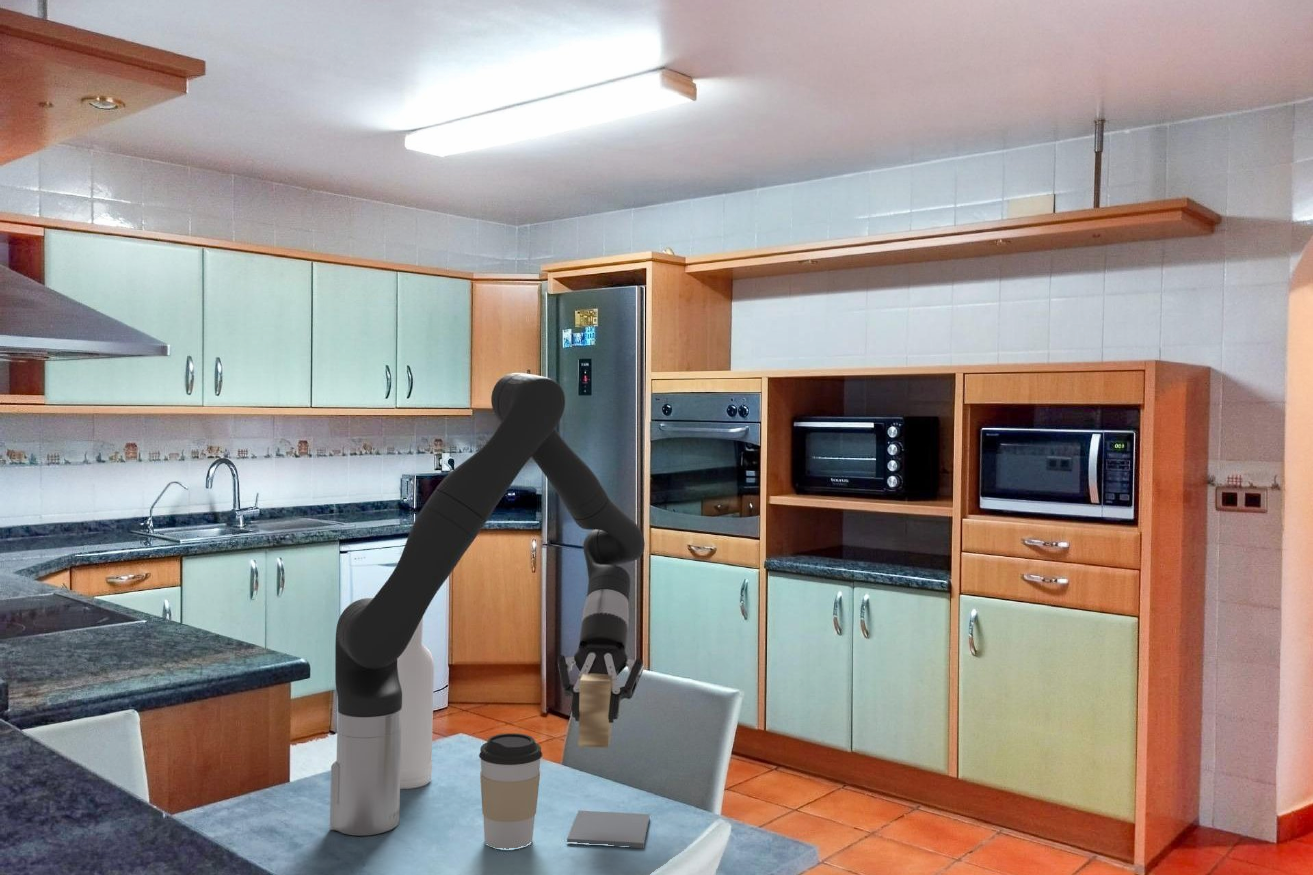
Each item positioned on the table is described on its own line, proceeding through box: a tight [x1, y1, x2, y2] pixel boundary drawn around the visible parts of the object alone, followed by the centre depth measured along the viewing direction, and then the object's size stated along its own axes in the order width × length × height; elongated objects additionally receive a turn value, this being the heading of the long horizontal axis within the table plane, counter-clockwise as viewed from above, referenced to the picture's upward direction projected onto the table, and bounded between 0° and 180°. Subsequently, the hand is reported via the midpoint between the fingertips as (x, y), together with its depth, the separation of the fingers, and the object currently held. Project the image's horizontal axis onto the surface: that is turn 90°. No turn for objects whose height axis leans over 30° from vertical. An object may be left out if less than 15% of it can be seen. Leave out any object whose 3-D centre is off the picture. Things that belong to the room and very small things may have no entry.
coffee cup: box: [478, 732, 543, 849], centre depth 147 cm, size 9×9×15 cm
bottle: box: [397, 616, 435, 790], centre depth 170 cm, size 8×8×30 cm
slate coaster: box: [566, 809, 650, 849], centre depth 151 cm, size 11×11×1 cm
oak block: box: [577, 673, 612, 749], centre depth 156 cm, size 4×4×10 cm
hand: (594, 718), depth 154 cm, fingers closed on oak block, 4 cm apart
